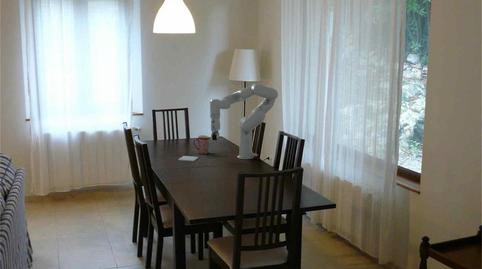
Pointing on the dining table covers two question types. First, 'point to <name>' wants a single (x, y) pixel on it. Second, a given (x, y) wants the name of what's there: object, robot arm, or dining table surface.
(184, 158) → the pad
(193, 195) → the dining table surface
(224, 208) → the dining table surface
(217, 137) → the maple block
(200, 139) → the mug
